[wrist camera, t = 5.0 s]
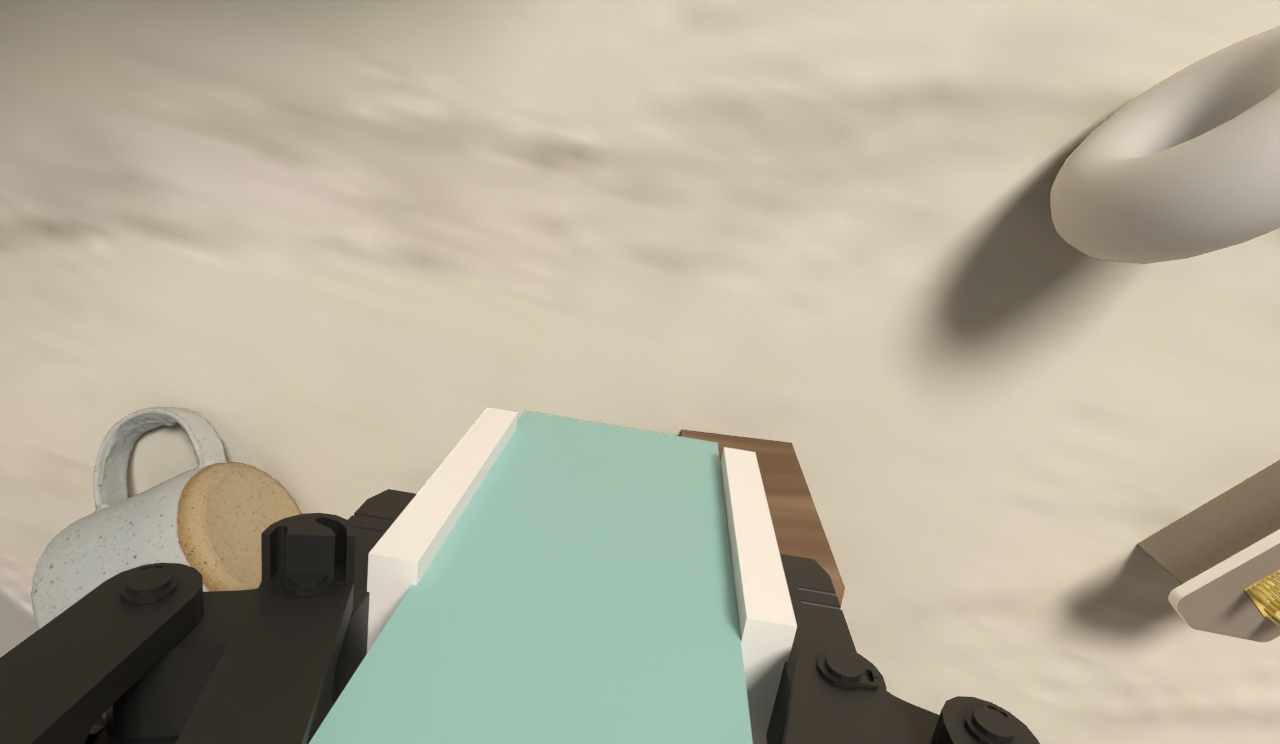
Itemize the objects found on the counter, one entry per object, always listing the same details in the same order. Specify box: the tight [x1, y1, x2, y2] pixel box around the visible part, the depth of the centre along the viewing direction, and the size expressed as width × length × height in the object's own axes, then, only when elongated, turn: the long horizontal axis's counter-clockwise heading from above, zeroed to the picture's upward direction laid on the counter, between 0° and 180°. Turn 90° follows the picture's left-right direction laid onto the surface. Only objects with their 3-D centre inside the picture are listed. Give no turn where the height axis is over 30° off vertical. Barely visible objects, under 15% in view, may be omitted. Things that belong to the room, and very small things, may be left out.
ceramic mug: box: [31, 407, 301, 629], centre depth 31 cm, size 11×8×8 cm
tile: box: [309, 411, 753, 744], centre depth 13 cm, size 2×5×11 cm, turn 81°
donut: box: [1050, 26, 1280, 264], centre depth 22 cm, size 10×4×10 cm, turn 129°
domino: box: [681, 430, 845, 606], centre depth 27 cm, size 2×5×11 cm, turn 84°
